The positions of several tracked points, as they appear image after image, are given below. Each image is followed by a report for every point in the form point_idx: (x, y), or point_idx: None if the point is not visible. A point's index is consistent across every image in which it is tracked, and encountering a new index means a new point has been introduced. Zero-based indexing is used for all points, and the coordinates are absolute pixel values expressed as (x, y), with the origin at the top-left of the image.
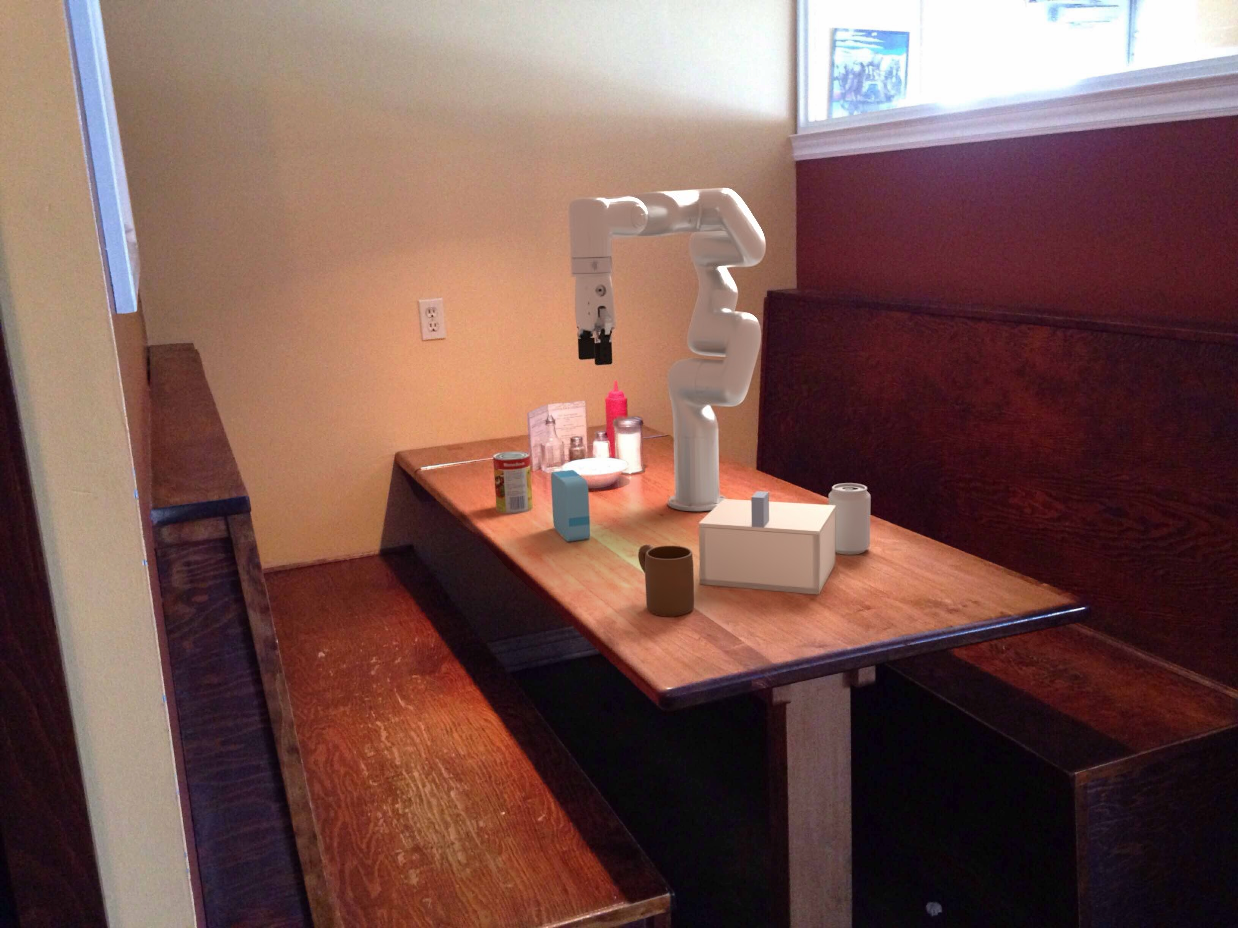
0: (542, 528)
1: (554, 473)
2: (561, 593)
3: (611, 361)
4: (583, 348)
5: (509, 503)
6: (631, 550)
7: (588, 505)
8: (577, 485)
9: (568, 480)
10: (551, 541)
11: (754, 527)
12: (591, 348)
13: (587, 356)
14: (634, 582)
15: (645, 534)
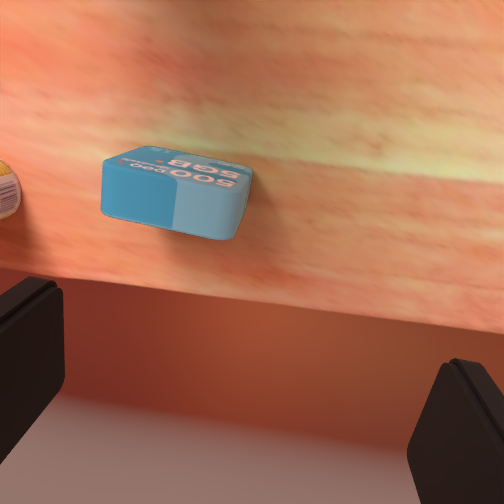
0: None
1: (125, 219)
2: (453, 320)
3: (481, 375)
4: (10, 420)
5: (6, 211)
6: (351, 134)
7: (247, 182)
8: (234, 214)
9: (208, 226)
10: None
11: None
12: (9, 355)
13: (54, 349)
14: (497, 217)
15: (280, 55)
